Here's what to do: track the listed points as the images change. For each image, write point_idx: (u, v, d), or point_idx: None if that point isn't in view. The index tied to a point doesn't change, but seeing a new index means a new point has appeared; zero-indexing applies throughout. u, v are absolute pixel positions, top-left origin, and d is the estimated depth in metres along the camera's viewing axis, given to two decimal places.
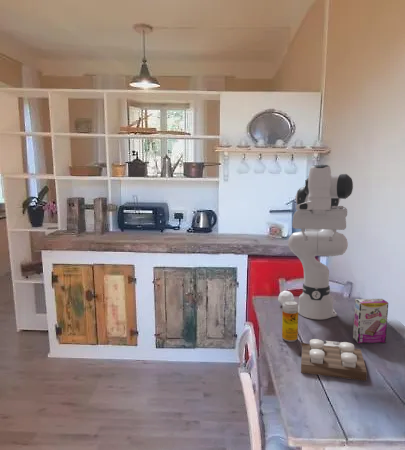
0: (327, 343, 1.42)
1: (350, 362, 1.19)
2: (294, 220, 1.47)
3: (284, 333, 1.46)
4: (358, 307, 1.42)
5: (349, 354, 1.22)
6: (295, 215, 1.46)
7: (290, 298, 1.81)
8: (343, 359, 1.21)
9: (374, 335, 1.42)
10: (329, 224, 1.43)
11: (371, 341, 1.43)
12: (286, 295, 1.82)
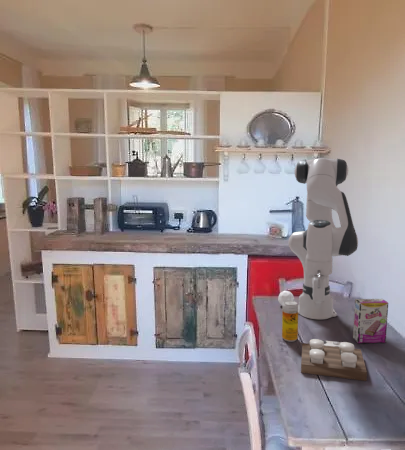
0: (327, 343, 1.42)
1: (350, 362, 1.19)
2: None
3: (284, 333, 1.46)
4: (358, 307, 1.42)
5: (349, 354, 1.22)
6: None
7: (290, 298, 1.81)
8: (343, 359, 1.21)
9: (374, 335, 1.42)
10: None
11: (371, 341, 1.43)
12: (286, 295, 1.82)
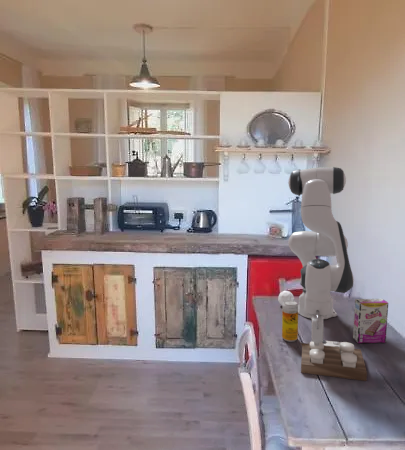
0: (327, 343, 1.42)
1: (350, 362, 1.19)
2: None
3: (284, 333, 1.46)
4: (358, 307, 1.42)
5: (349, 354, 1.22)
6: None
7: (290, 298, 1.81)
8: (343, 359, 1.21)
9: (374, 335, 1.42)
10: None
11: (371, 341, 1.43)
12: (286, 295, 1.82)
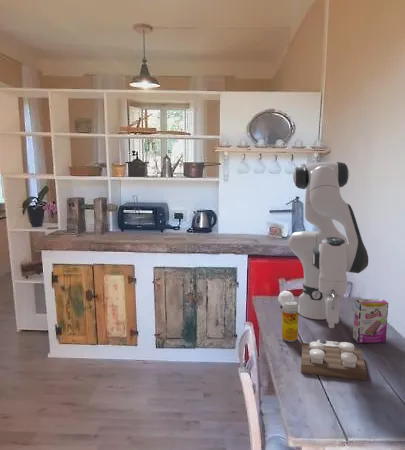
0: (327, 343, 1.42)
1: (350, 362, 1.19)
2: None
3: (284, 333, 1.46)
4: (358, 307, 1.42)
5: (349, 354, 1.22)
6: None
7: (290, 298, 1.81)
8: (343, 359, 1.21)
9: (374, 335, 1.42)
10: (326, 310, 1.21)
11: (371, 341, 1.43)
12: (286, 295, 1.82)
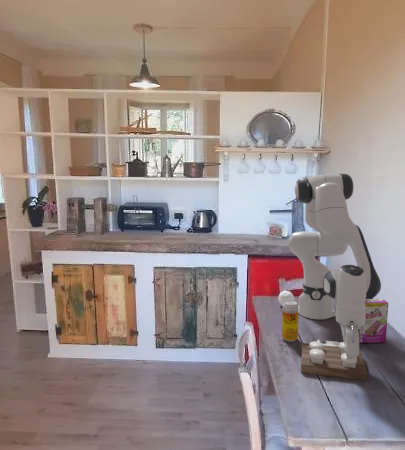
0: (327, 343, 1.42)
1: (350, 363, 1.19)
2: None
3: (284, 333, 1.46)
4: None
5: None
6: None
7: (290, 298, 1.81)
8: (343, 360, 1.21)
9: (374, 335, 1.42)
10: (344, 342, 1.17)
11: (371, 341, 1.43)
12: (286, 295, 1.82)
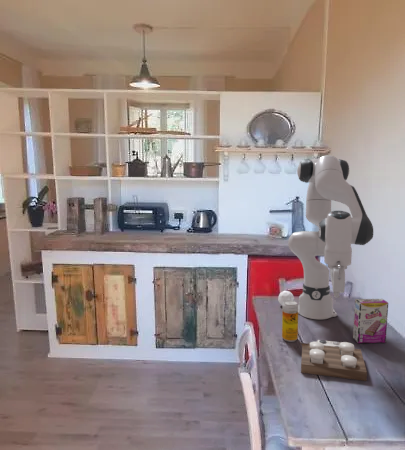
0: (327, 343, 1.42)
1: (350, 365, 1.19)
2: None
3: (284, 333, 1.46)
4: (358, 307, 1.42)
5: (349, 357, 1.23)
6: None
7: (290, 298, 1.81)
8: (343, 362, 1.21)
9: (374, 335, 1.42)
10: None
11: (371, 341, 1.43)
12: (286, 295, 1.82)
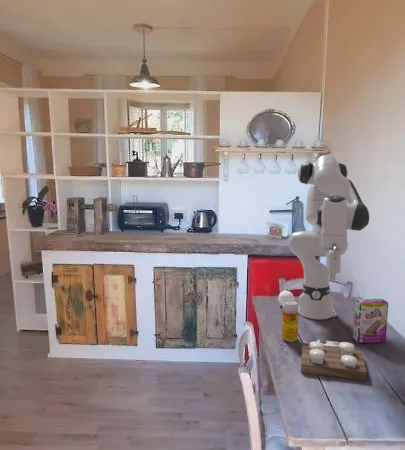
0: (327, 343, 1.42)
1: (350, 365, 1.19)
2: (326, 252, 1.43)
3: (284, 333, 1.46)
4: (358, 307, 1.42)
5: (349, 357, 1.23)
6: None
7: (290, 298, 1.81)
8: (343, 362, 1.21)
9: (374, 335, 1.42)
10: None
11: (371, 341, 1.43)
12: (286, 295, 1.82)
